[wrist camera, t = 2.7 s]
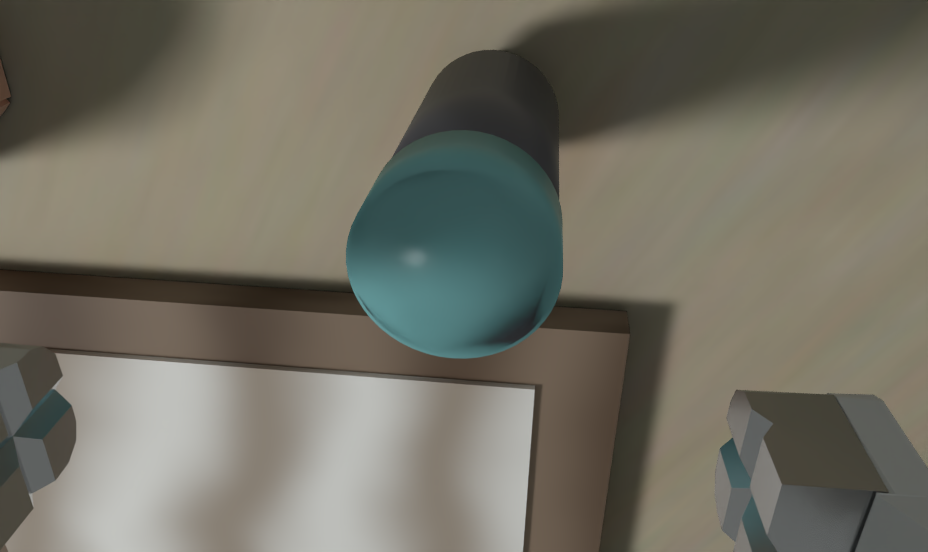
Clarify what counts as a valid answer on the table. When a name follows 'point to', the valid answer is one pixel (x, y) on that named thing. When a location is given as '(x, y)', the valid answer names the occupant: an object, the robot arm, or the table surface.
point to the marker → (466, 214)
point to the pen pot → (3, 91)
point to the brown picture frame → (311, 424)
